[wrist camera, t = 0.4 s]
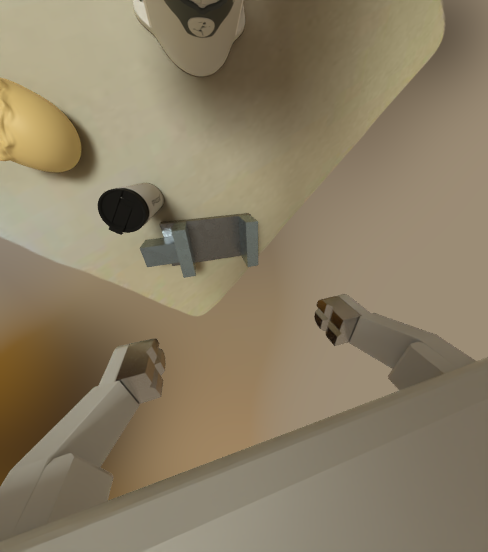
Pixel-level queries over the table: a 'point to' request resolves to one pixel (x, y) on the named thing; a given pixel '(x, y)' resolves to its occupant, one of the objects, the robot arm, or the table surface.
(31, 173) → the table surface
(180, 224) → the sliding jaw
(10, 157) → the sculpture
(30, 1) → the table surface
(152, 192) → the travel mug
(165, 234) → the vise
